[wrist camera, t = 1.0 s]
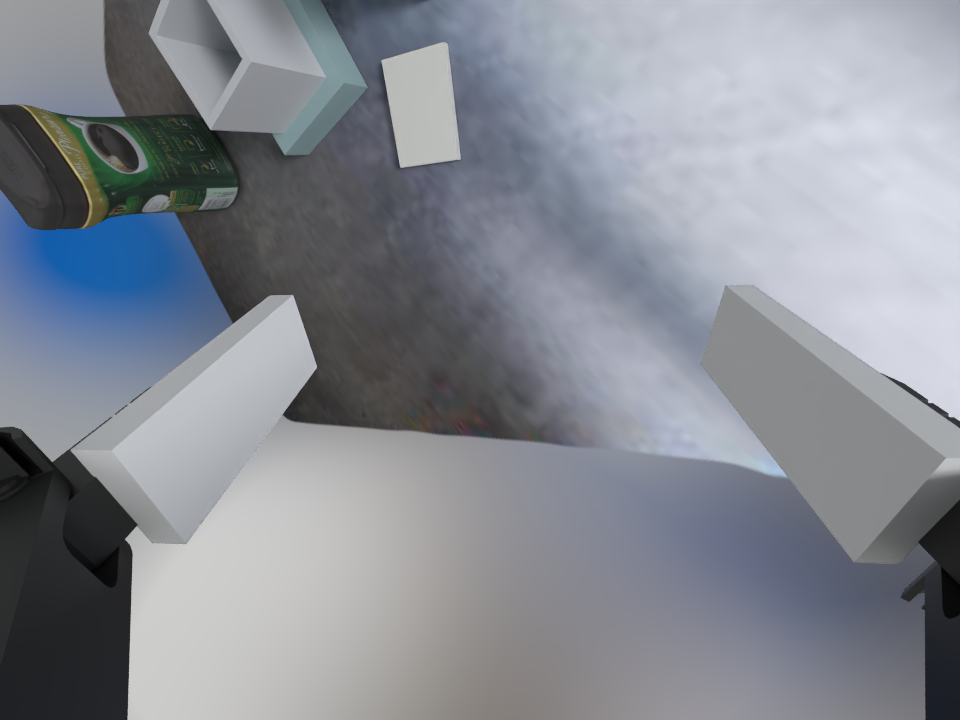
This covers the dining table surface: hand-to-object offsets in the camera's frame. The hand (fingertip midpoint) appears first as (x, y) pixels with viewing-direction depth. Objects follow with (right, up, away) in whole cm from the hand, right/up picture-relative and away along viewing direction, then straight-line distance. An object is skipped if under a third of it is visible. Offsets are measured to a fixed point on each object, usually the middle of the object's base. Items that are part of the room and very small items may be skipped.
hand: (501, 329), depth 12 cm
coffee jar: (-32, +22, +34) cm, 52 cm away
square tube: (-17, +26, +23) cm, 39 cm away
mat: (-5, +20, +20) cm, 29 cm away
